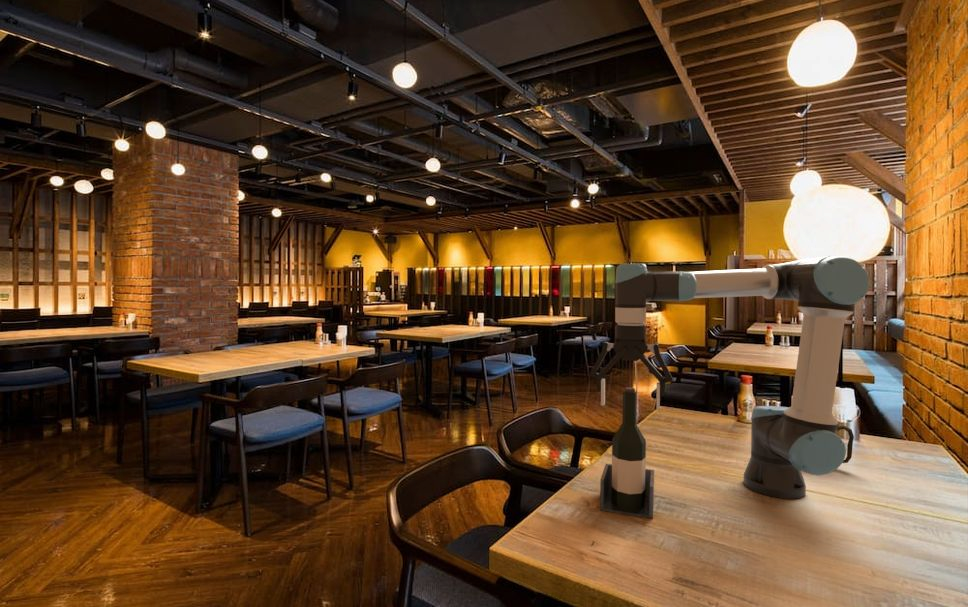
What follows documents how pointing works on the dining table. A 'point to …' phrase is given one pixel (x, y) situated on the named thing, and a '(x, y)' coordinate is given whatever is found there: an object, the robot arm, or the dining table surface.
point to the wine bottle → (628, 458)
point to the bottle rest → (610, 507)
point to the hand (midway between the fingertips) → (630, 406)
